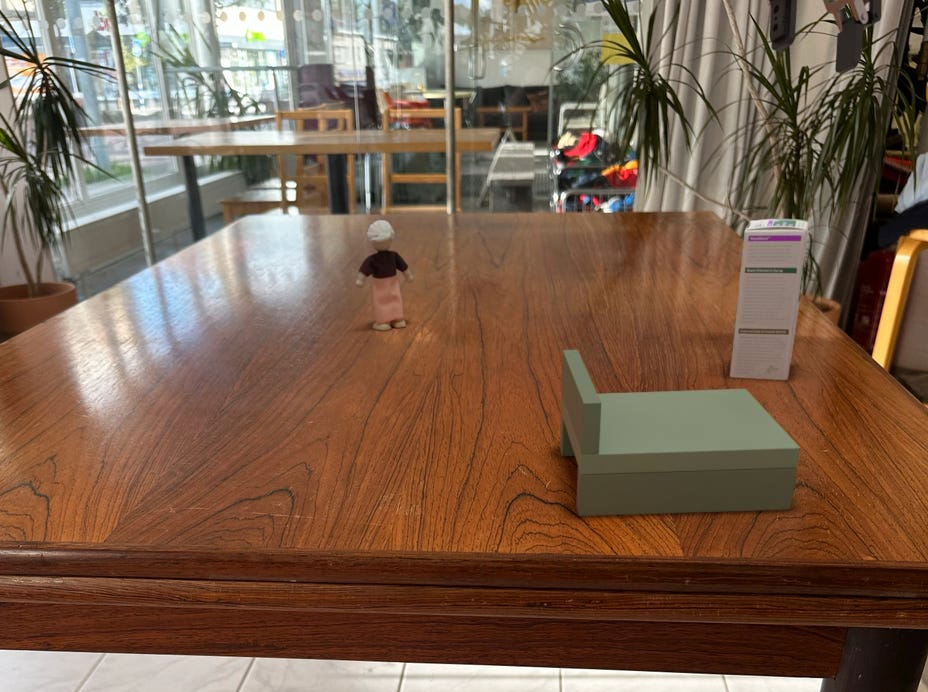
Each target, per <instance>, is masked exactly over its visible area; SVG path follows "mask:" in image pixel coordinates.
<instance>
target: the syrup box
mask: <svg viewBox="0 0 928 692" xmlns="http://www.w3.org/2000/svg"><path fill="white" fill-rule="evenodd" d="M809 225H810V222H809V221H808V220H807V219H796V218H768V219H767V218H765V219H756V220H750V221H749V223H748V225H747V226H746V227H745V229H744V234H743V244H742V253H741V264H740V273H739V282H738V290H737V301H736V309H735V318H734V319H735V320H734V328H733V329H734V330H733V339H732V348H731V358H730V359H731V360H730V368H729V369H730V370H729V378H739V379H741V378H742V379H758V380H759V379H760V380H775V381H776V380H777V381H787V380H788V378H789V374H790V370H791V364H792V357H793V352H794V343H795V337H796V329H797V323H798V316H799V309H800V304H801V295H802V289H803V287H802V286H803V278H804V269H805V259H806V252H807V251H806V250H807V242H808V233H809Z"/></svg>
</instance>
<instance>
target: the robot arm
mask: <svg viewBox="0 0 928 692" xmlns="http://www.w3.org/2000/svg"><path fill="white" fill-rule="evenodd" d="M766 1H767V5H768V7H769V9H770V21H769V22H770V23H769V41H770V42H771V46H770V47H771V50H773V51H775V52H778V53H779V52H782V51H783V50H785V49H787V48H788V47H791V46H792V45H793V44H794V42H795V40H796V27H797V10H798V0H766ZM822 2H823V5H824V8H825V9H826V12H827V13H828V14H830V15H831V14H832V15H833V19H834V21H835V23H836V25H837V29H838V32H837V35H836V50H835V51H836V52H835V67H834V68H835V69H834V70H835V72H836V73H838V74H840V75H844V74H847V73H848V72H850V71H852V70H854V69H855V68H857V67H858V65H859V63H860V62H861V59H862V50H863V49H862V46H863V32H864V30H866V29H868V28H869V27H871V26H873V25H875V24H877V23H879V22H880V21H881V19H882V7H883V3H882V2H883V0H822ZM867 4H868V10H867V8H866V5H867ZM846 5H849V6H850V9H851V16H848V13H847V10H846Z"/></svg>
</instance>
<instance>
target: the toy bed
mask: <svg viewBox="0 0 928 692" xmlns="http://www.w3.org/2000/svg"><path fill="white" fill-rule="evenodd" d="M561 361H562V362H561V398H560V399H561V400H560V431H559V432H560V433H559V435H560V436H559V450H560V453H561V457H572V456H573V457H575V460H576V463H577V466H578V467H577V480H576V481H577V483H576V487H577V488H576V505H575V506H576V509H577V513H578V514H577V515H578V516H579V517H591V516H595V517H596V516H621V515H622V516H623V515H624V516H627V515H653V514H655V515H656V514H686V513H687V514H689V513H691V514H692V513H720V512H722V513H723V512H748V511H749V512H750V511H751V512H752V511H754V512H755V511H778V510H779V511H781V510H782V511H783V510H784V511H786V510H791V508H792V501H793V494H794V488H795V484H796V483H795V482H796V476H797V471H798V463H799V459H800V452H801V447H800V445H798V443H797V442H796V441H795V440H794V439H793V438H792V437H791V436H790V435H789V433H788V432H786V431H785V429H784V428H783V427H782V426H781V425H780V424H779V423H778V422H777V421H776V420H775V418H773V416H772V415H771V414H770V413H769V412H768V411H767V410H766V409H765V407H764V406H762V405H761V403H760V402H759V401H758V400H757V399H756V398H755V397H754V396H753V395H752V394H751V392H750V391H749V390H748V389H747V388H725V389H724V388H723V389H696V390H669V391H668V390H666V391H639V392H637V391H636V392H610V393H609V392H608V393H607V392H606V393H605V392H604V393H598V391H597V390H596V387H595V385H594V383H593V381H592V378H591V377H590V374H589V372H588V369H587V368H586V365H585V364H584V361H583V359H582V356H581V354H580V352H579V349H563V350H562V357H561Z"/></svg>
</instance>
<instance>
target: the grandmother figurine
mask: <svg viewBox="0 0 928 692" xmlns="http://www.w3.org/2000/svg"><path fill="white" fill-rule="evenodd" d="M366 236H367V240H368V242H369V243H370V244H371V247H372V248H373V250H375V251H377V252H374V253H373V254H370V255H368V256H367V257H365V259H364V260H363V261H362V263H361V265H360V266H359V268H358V275H357V280H356V281H355V287H357V288H358V289H361V288H363V287H364V286H365V282H366V280H367V278H368V277H370V276H371V285H372V286H371V287H372V297H373V310H374V311H373V312H374V318H375V322H374V323H373V325H372V330H373V329H374V330H375V331H376V330H377V331H390V330H391V329H392V327H393V328H395V329H397V328H398V329H400V328H406V327H407V324H406V321H405V319H404V318H405V316H404V305H403V304H404V303H403V297H402V293H401V287H400V282H399V278H398V274H397V273H398V271H399V272H401V274H402V276H403V277H404V278H405V282H406V283H408V284H411V283H413V282H414V279H415V278H414V276H413V275H412V273H411V270H410V268H409V264H408V263H407V262H406V261H405V260H404V258H403V257H402V256H401V255H400V254H399V253H398V252H397V251H395V250H389V249H390V248H391V247H392V242H393V241H394V240H395V231H394V229H393V227H392V225H391V224H390V222H389V221H387V220H384V219H378V220H375V221H374V222H372V224H370V225H369V227H368V230H367V232H366Z"/></svg>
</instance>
